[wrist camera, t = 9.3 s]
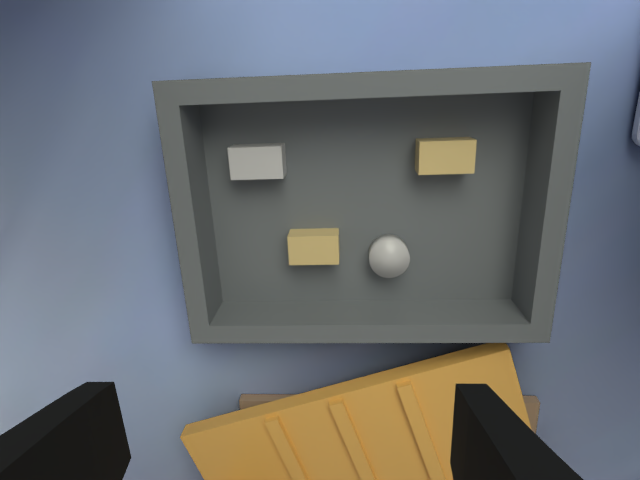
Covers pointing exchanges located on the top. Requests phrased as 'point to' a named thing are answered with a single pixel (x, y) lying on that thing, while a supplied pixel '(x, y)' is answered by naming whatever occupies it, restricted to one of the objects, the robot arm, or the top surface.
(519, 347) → the top surface
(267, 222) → the parts tub
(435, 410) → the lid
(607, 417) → the top surface
